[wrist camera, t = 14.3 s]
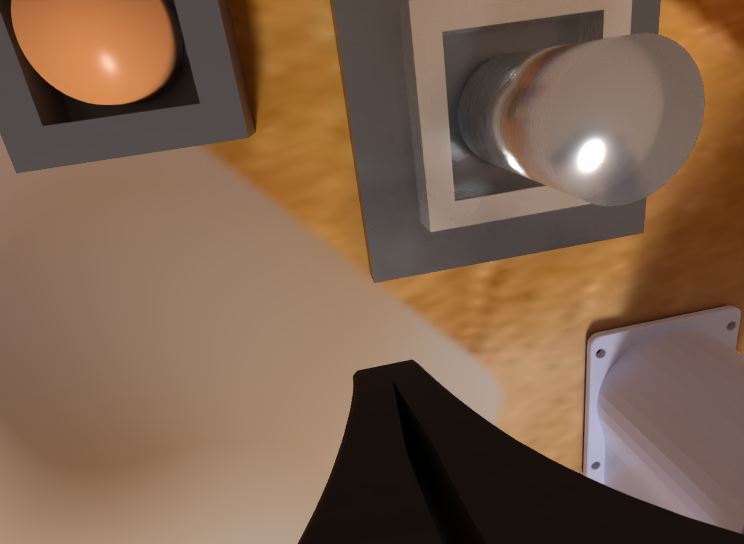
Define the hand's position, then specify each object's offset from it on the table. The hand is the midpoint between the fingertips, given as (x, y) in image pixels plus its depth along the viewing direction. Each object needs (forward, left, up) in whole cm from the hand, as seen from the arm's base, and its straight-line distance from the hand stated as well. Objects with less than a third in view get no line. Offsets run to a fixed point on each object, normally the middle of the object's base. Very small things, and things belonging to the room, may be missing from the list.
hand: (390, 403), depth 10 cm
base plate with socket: (+5, -7, -10) cm, 13 cm away
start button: (+9, +6, -9) cm, 14 cm away
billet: (+5, -7, -9) cm, 13 cm away
